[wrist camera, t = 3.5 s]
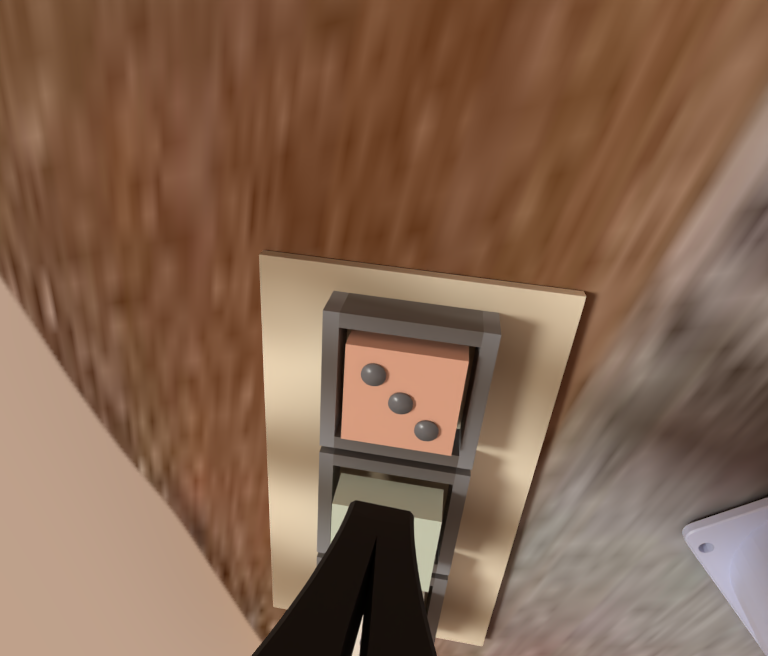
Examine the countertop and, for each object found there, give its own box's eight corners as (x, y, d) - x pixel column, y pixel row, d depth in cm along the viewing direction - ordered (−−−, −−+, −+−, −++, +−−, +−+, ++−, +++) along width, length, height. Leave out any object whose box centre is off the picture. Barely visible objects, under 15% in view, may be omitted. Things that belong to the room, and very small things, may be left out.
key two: (430, 558, 20) (428, 594, 18) (337, 541, 20) (328, 576, 19) (443, 489, 18) (441, 524, 17) (341, 472, 18) (331, 506, 17)
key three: (452, 427, 18) (450, 458, 17) (349, 411, 18) (340, 440, 17) (468, 337, 16) (469, 363, 15) (354, 321, 16) (344, 345, 15)
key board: (482, 637, 24) (483, 678, 23) (275, 598, 25) (263, 635, 24) (583, 291, 16) (596, 318, 14) (263, 250, 17) (242, 271, 15)
